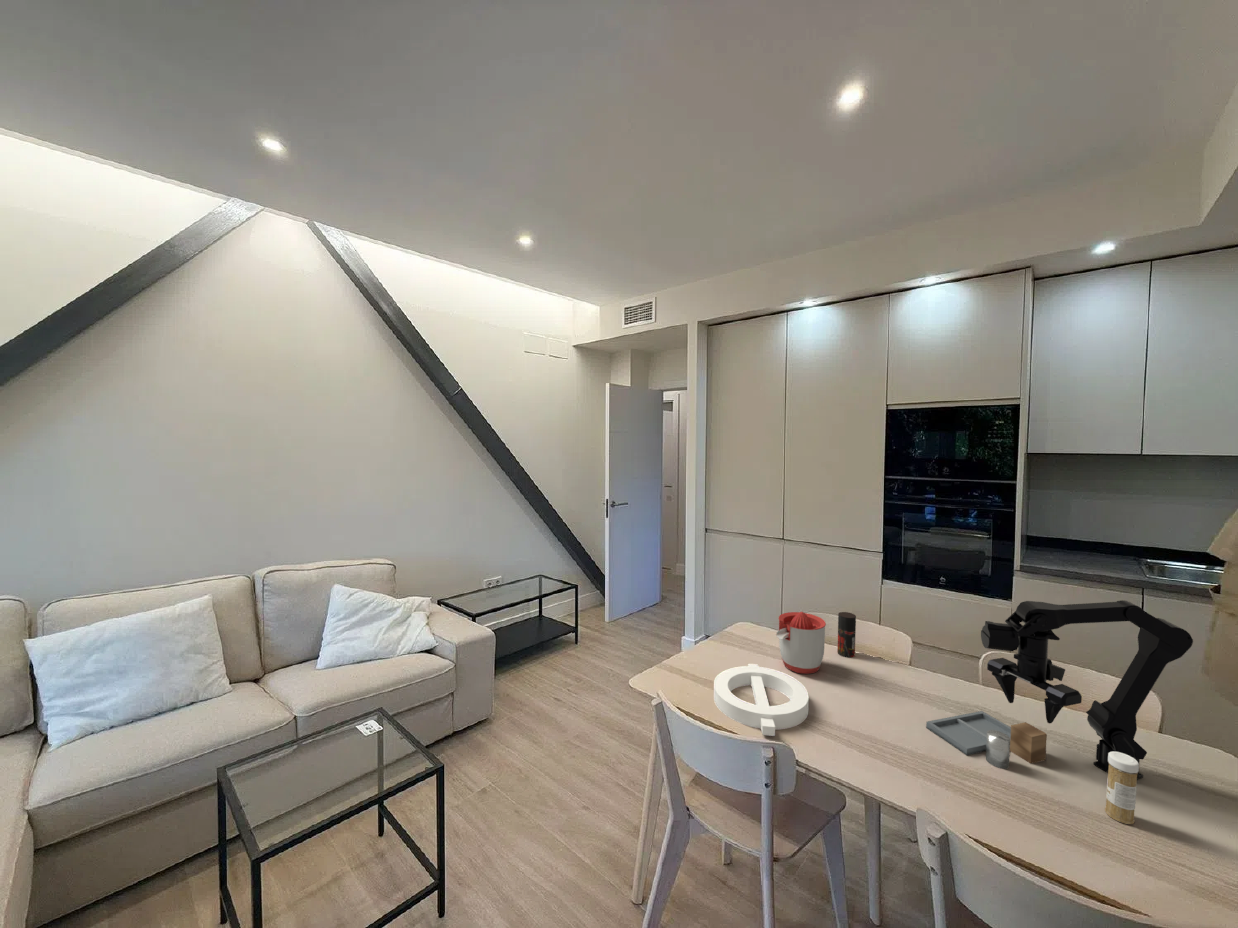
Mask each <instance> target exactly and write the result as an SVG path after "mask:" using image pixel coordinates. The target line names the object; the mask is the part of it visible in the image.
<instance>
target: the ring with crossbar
mask: <svg viewBox="0 0 1238 928" xmlns="http://www.w3.org/2000/svg"><path fill="white" fill-rule="evenodd" d="M744 686H751V690H752V694H753V698H754V703H755V704H754V703H752V702H748V701H745V700H743V699H741V698H739V697H737V696H736V695H734V693H732V691H733V690H735V689H736V688H740V687H744ZM765 688H769V689H772V690H775V691H777V692H779V693H781V694H782V695H784V696H785V697H787V698H788V699H789V701H786V702H785V703H782V704H778V705H777V704H776V705H770V704H769V700H768V697H767V692H766V689H765ZM809 699H810V698H809V693H808V690H807V687H805V685H804V684H803V683H802V682H801V681H799V680H798V679H796V678H795V677H793V676H791V675H789V674H787V673H785V672H782V671H781V670H780V671H779V670H777V669H773V668H769V667H765V666H764V667H763V666H759V664H758V663H747V665H741V666H735V667H730V668H727V669H725V670H723V671H721V672H720V673H718V674H717V675H716V676H715V678H714V681H713V702H714V704H715V706H716V707H717V709H718V710H719V711H720V712H721V713H722V714H724V716H726V717H727V718H729V719H731V720H733V721H734V722H737V723H740V724H741V725H744V726H747V727H750V728H751V727H752V728H754V729H759V730H761V735H762V736H770V737H771V736H772V737H775V736H776V730H786V729H790V728H794V727H796V726H798V725H800V724H802V723H803V722H804V721H805V720H806V719H807V717H808V716H809V701H810V700H809Z"/></svg>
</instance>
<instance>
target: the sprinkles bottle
mask: <svg viewBox="0 0 1238 928" xmlns="http://www.w3.org/2000/svg"><path fill="white" fill-rule="evenodd" d="M1108 762H1109V770H1108V772H1107V780H1106V792H1105V794H1106V795H1105V796H1106V800H1105V807H1104V812H1105V813H1106V814H1107V815H1108V817H1110V818H1111V819H1113V820H1115V821H1117V822H1119V823H1122V824H1126V825H1134V823H1135V821H1136V820H1135V809H1136V801H1137V788H1138V787H1137V786H1138V785H1137V784H1138V783H1137V781H1138V779H1137V774H1138V771H1139V772H1140V762H1139V763H1138V761H1137V760H1135V759H1134V758H1133V757H1131V756H1129V755H1126V754H1124V753H1120V752H1114V751H1113V752H1109V753H1108Z"/></svg>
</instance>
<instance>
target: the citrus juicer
mask: <svg viewBox="0 0 1238 928" xmlns="http://www.w3.org/2000/svg"><path fill="white" fill-rule="evenodd" d="M826 626H827V623H826V621H825V620H824V619H823V618H822V617H819V616H817V615H815V614H811V613H807V612H804V611H799V612H798V611H790V612H784V613H781V614H779V616H778V630H777V631H776V634H775V635H776V638H778V643H779V644H778V647H779V652H780V655H781V660H782V663H783V666H784V667H785V668H787V669H788V670H790V671H792V672H795V673H797V674H815V673H817V672H818V671H819V669H820V668H821V666H822V662H823V659H824V655H825V645H826V644H825V643H826V642H825V638H826V634H825V633H826V632H825V631H826Z"/></svg>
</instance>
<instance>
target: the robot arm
mask: <svg viewBox="0 0 1238 928" xmlns="http://www.w3.org/2000/svg"><path fill="white" fill-rule="evenodd" d="M1116 622H1117V623H1119V622H1130V623H1131V624H1132V625H1134V626H1137V627H1138V628H1139V631H1138V634H1137V643H1138V645H1137V646H1138V650H1137V652H1136V654H1135V656H1134V658H1132V661H1130V662H1131V663H1130V665H1129V666H1128V667H1127V669H1126V671H1125V673H1124V674H1123V676H1122V678H1121V679H1120V681H1119V682H1118V684H1117V686H1116V688H1115V689H1114V690H1113V692H1112V694H1111V696H1110V698H1108V700H1105V701H1103V702H1099V701H1098V700H1095V699H1094V700H1093V701H1092V705H1091V707H1090V708H1089V710H1087V711H1085V713H1086V714H1087V717H1086V719H1087V722H1088V724H1089V726H1090V727H1091V728H1092V729H1093V731H1095V733H1096V735H1097V736H1098V737H1099V738H1100V739H1099V741H1098V744H1097V743H1096V751H1095V752H1096V753H1095V760H1096V761H1093V765H1094V767H1097V768H1099V769H1101V770H1102V771H1104V772H1106V773H1108V770H1109V762H1108V753H1109V752H1113V751H1114V752H1120V753H1124V754H1126V755H1129V756H1131V757H1133V758H1134V759H1135V760H1137V761H1138V763H1139V764H1140V762H1141V761H1140V760H1144V759H1145V758H1146V756H1147V754H1148V752H1147V750H1145V749H1144V748H1143V747H1142V746H1141V745H1140V744H1139V743H1138V742H1137V741H1136V740H1135V736H1136V733H1137V730H1138V727H1137V713H1138V712H1139V710H1140V709H1141V707H1142V706H1143V704H1144V702H1145V701H1146V699H1147V697H1148V696H1149V694H1150V692H1151V690H1152V689H1153V687H1154V686H1155V684H1156V682H1157V681H1158V679H1159V678H1160V676H1161V674H1162V673H1163V671H1164V669H1165V668H1166V666H1167V665H1168V664H1169V663H1171V662H1174V661H1177V660H1179V659H1181V658H1182V657H1183V656H1184V655H1185V654H1186V653H1187V652H1188V651H1189V650H1190V649H1191V647H1192V646H1193V644H1194V639H1193V638H1192V636H1191V634H1190V633H1189V632H1188V631H1187V630H1185V629H1184V628H1181V627H1180V626H1177V625H1176V624H1173V623H1172V622H1170V621H1167V620H1166V619H1164V618H1160V617H1155V616H1154V615H1151V614H1150V613H1149V612H1146V611H1145V610H1144V609H1143V608H1141V607H1140V606H1138V605H1137V604H1135V603H1133V602H1131V601H1128V600H1123V599H1122V600H1117V601H1107V602H1105V601H1104V602H1103V601H1102V602H1089V603H1087V602H1086V603H1073V604H1072V603H1070V604H1055V603H1049V602H1044V601H1033V600H1024V601H1022V602H1020V603H1019V604H1018V605H1017V606H1016V609H1015V611H1014V612H1013V613H1012V614H1011V615H1009V617H1007V618H1006V619H1005V620H1004V623H1000V622H994V621H989V620H987V621H986V620H985V622H984V625H983V626H982V628H981V630H980V640H981V643H982V645H983V646H982V647H984V648H985V649H987V650H997V651H1005V652H1014V651H1017V653H1013V659H1016V660H1017V661H1016V662H1013V661H1012V660H1009V659H1007V658H1005V657H999V658H993V659H989V660H988V661H987V664H986V669H987V671H989V672H991V676H994V677H995V680H996V681H997V683H998V684H999V686H1000V688H1001V689H1002V692H1003V694H1004V695H1005V697H1006V699H1007V701H1008V704H1013V703H1014V700H1015V689H1016V680H1017V679H1020V680H1022V681H1024V682H1026V683H1028V684H1031V685H1033V686H1035V687H1037V688H1039V689H1041V690H1043V691H1045V696H1046V698H1044V699H1043V700H1044V710H1045V718H1046V723H1047V724H1052V723H1053V722H1054V721H1055V720H1056V717H1057V716H1058V714H1059V713H1060V711H1061V710H1062V709H1063V708H1064V707H1068V706H1069V707H1070V706H1074V705H1080V704H1082V700H1083V698H1082V693H1080V691H1079V690H1077V689H1075V688H1073V687H1070V686H1068V685H1066V684H1063V683H1060V684H1054V685H1053V684H1051V683H1048V682H1047V681H1049V682H1052V681H1054V679H1056V680H1058V681H1060V682H1063V679H1064V675H1065V673H1066V669H1065V668H1063V667H1061V666H1059V665H1056V664H1054V663H1053V662H1052V659H1050V658H1048V653H1049V640H1051V641H1060V639H1061V638H1060V637H1059V636H1057V634H1055V633H1054V632H1053V630H1058V629H1060V628H1062V627H1064V626H1067V625H1072V624H1073V625H1075V624H1076V625H1078V624H1091V623H1092V624H1094V623H1096V624H1097V623H1116ZM1022 623H1023V625H1022ZM1142 778H1144V775H1143V774H1142V773H1141V772H1140V770H1139V771H1138V774H1137V780H1138V779H1142Z"/></svg>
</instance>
